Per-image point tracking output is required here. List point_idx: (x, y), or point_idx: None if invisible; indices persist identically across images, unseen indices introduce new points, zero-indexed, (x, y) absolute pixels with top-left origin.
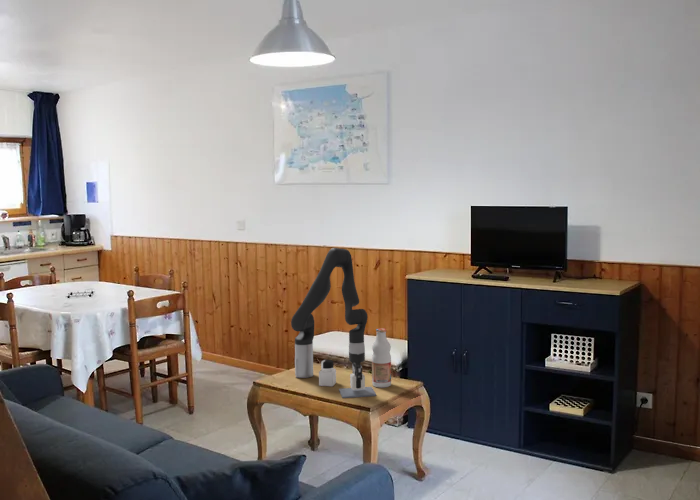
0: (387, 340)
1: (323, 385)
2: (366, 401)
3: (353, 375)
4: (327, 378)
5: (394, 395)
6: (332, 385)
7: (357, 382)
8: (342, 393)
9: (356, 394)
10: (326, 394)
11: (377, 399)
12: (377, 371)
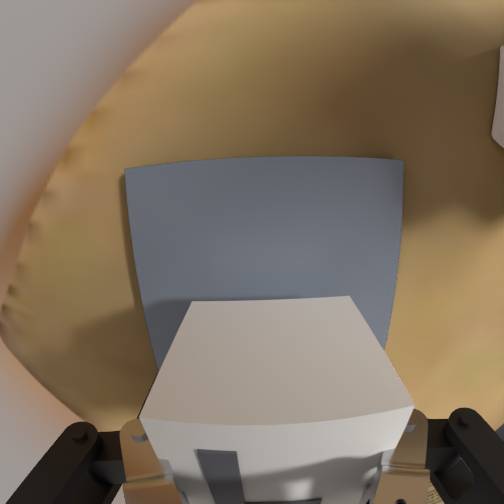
0: None
1: (500, 70)
2: (68, 347)
3: (273, 452)
4: None
5: None
6: (494, 133)
7: (141, 409)
8: (226, 175)
9: (175, 315)
10: (281, 22)
11: (114, 411)
12: None
